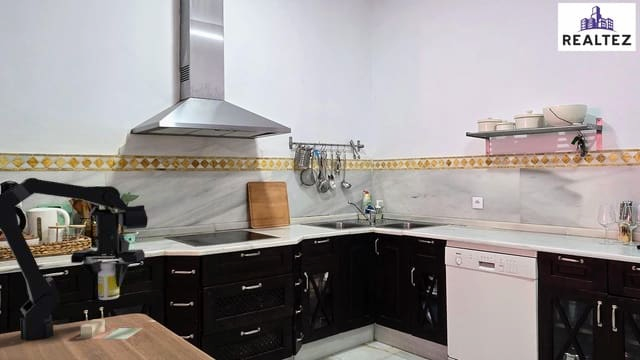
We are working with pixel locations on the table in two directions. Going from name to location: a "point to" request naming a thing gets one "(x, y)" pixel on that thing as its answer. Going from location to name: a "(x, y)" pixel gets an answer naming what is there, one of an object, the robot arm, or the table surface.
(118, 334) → the sorting board
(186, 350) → the table surface
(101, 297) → the supplement bottle
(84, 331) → the beech block
